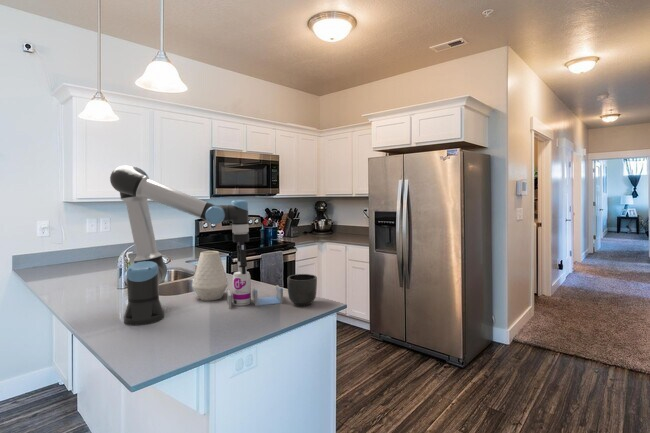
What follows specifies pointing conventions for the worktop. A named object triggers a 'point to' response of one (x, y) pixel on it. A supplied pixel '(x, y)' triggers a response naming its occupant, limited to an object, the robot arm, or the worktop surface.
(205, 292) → the vase
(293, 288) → the planter
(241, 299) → the supplement can
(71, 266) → the worktop surface
